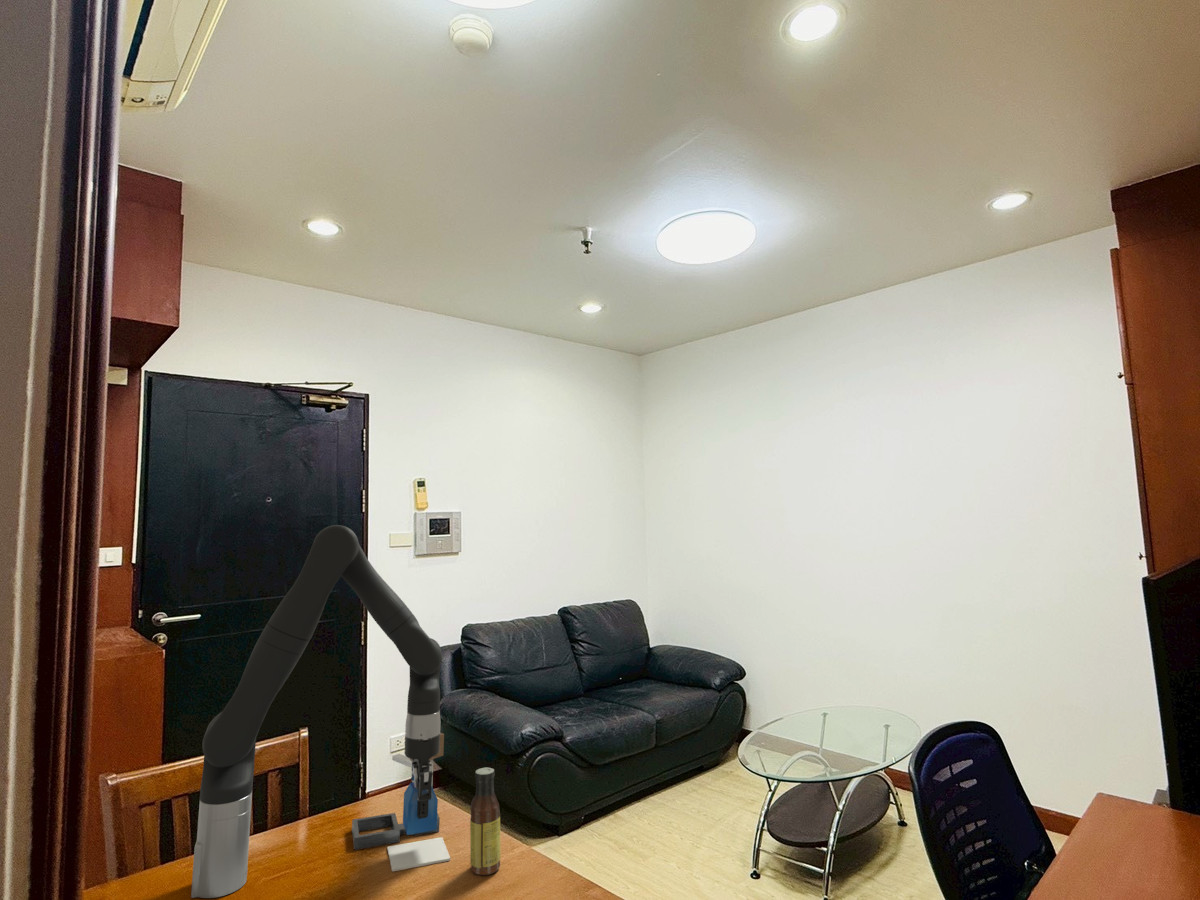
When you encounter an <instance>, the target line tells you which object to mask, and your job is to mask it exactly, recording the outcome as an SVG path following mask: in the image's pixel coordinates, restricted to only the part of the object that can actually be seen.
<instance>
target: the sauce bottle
mask: <svg viewBox="0 0 1200 900" xmlns="http://www.w3.org/2000/svg"><path fill="white" fill-rule="evenodd" d="M495 773H496V772H495V769H494V768H493V767H492V768H491V767H482V768H478V769H476V770H475V774H474V778H475V795H474V796H473V798H472V800H471V803H470V825H469V826H470V834H469V835H470V837H469V839H470V855H469V856H470V866H471V871H472V872H473V874H476V875H480V876H489V875H492V874H494V873H496V872H498V870H499V868H500V866H501V857H502V856H501V855H502V854H501V813H500V811H501V810H500V804H499V801H498V799H497V796H496V793H495V786H494V785H495V783H494V781H495V780H494V779H495V777H496V776H495V775H496V774H495Z"/></svg>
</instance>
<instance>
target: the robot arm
mask: <svg viewBox="0 0 1200 900" xmlns="http://www.w3.org/2000/svg"><path fill="white" fill-rule="evenodd" d="M359 542H360V541H359V539H358V536H357V535H356V533H355V532H354V530H352V529H351V528H349V527H347V526H345V525H340V524H334V525H329V526H327V527H324V528H323V529H321V530H320V531H319V532H318V533H317V534H316V536H315V538H314V539H313V542H312V545H311V548H310V550H309V553H308V555H307V557H306V559H305V562H304V564H303V567H302V568H301V570H300V572H299V574H298V576H297V579H296V580H295V582H294V583H293V585H291V587H290V588H289V590H288V592H286V594H285V596H284V597H283V598H282V600H280V603H279V604H278V605H277V607H276V609H275V611H274V612H273V614H272V615H271V616H270V618H269V620H268V622H267V623H266V624H265V627H264V628H263V630H262V632H261V634H260V635H259V638H258V639H257V641H256V643H255V645H254V647H253V649H252V651H251V653H250V656H249V658H248V661H247V663H246V665H245V668H244V670H243V673H242V675H241V679H240V681H239V683H238V686H237V687H236V688H235V691H234V693H233V695H232V696H231V698H230V699H229V700H228V703H227V704H226V706H225V707H224V708H223V710H222V711H221V712H219V713H218V714H217V715H216V716H214V717H213V718H212V719H211V721H210V722H209V723H208V725H207V727H206V731H205V733H204V736H203V739H202V742H201V743H202V747H201V748H202V753H203V767H202V774H201V775H202V776H201V781H200V788H199V789H200V791H199V806H198V808H199V809H198V819H197V833H196V842H195V845H194V849H193V850H194V851H193V852H194V854H193V862H192V863H193V867H192V878H191V880H192V881H191V895H190V898H193V899H194V898H200V899H201V898H202V899H215V898H221V897H224V896H226V895H229V894H232V893H234V892H236V891H238V890H239V889H241V888H242V887H243V886H244V885H246V883H247V878H248V868H249V867H248V864H249V863H248V862H249V849H250V848H249V847H250V833H251V832H250V831H251V818H252V817H251V816H252V798H253V784H254V783H253V782H254V775H255V774H254V773H255V759H256V758H255V757H256V743H257V736H258V734H259V731H260V729H261V727H262V725H263V723H264V720H265V718H266V715H267V713H268V711H269V709H270V707H271V705H272V703H273V701H274V700H275V698H276V697H277V695H278V693H279V692H280V690H281V689H282V687H283V686H284V685H285V683H286V682H287V680H288V678H289V677H290V675H291V673H292V672H293V670H294V669H295V668H296V666H297V664H298V662H299V661H300V659H301V657H302V655H303V653H304V652H305V650H306V648H307V646H308V645H309V642H310V641H311V639H312V637H313V635H314V632H315V630H316V628H317V626H318V624H319V622H320V619H321V616H322V614H323V611H324V609H325V605H326V603H327V601H328V598H329V596H330V594H331V592H332V590H333V588H334V587H335V585H336V584H337V583H338V581H339V579H340V578H341V579H343V580H344V581H345V582H346V583H347V585H348V586H350V588H351V589H352V590H353V591H354V592H355V595H356V596H357V597H358V598H359V600H360V602H361V603H362V605H364V607H365V609H366V611H367V612H368V613H369V614H370V616H371V617H372V619H373V620H374V621H375V623H376V624H377V625H378V627H379V628H380V629H381V630H382V631H383V633H384V634H385V635H386V636H387V637H388V639H390V641H391V642H392V643H393V644H394V645H395V647H396V649H397V650H398V651H399V653H400V654H401V656H402V658H403V659H404V660H405V662H406V663H407V665H408V666H409V687H408V694H407V708H406V709H407V711H406V719H405V730H404V731H405V733H404V756H406V757H408V758H410V759H412V763H411V767H410V769H411V772H410V780H411V782H414V783H415V789H417V817H418V819H421V818H426V817H427V816H428V800H431V789H432V788H433V779H432V775H433V774H434V772H433V773H432V764H430V760H429V759H430V758H431V757H434V756H436V755H437V754H438V753H439V751H440V733H441V711H440V710H441V688H440V675H441V674H440V673H441V664H442V661H443V653H442V649H441V646H440V644H439V643H438V641H436V640H435V639H434V638H431V637H430V636H429V635H428V634H427V633H426V632H425V630H424V629H423V628H422V627H421V626H420V623H419V620H418V619H417V618H416V616H415V615H414V613H413V612H412V611H411V610H410V608H409V607H408V606H407V605H406V603H405V602H404V601H403V599H401V598H400V596H399V595H398V594H397V593H396V592H395V591H394V590H393V589H392V587H391V586H390V585H389V584H388V583H387V582H386V581H385V580H384V579H383V578H382V576H381V575H380V574H379V573H378V572H377V570H376V569H375V567H374V566H373V565H372V564H371V562H370V561H369V559H368V557H367V555H366V554H365V552H364V550H363V548H362V547H361V544H360V543H359ZM413 775H414V781H413ZM433 776H434V775H433ZM418 783H419V784H418ZM423 790H426V794H422V791H423Z"/></svg>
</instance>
